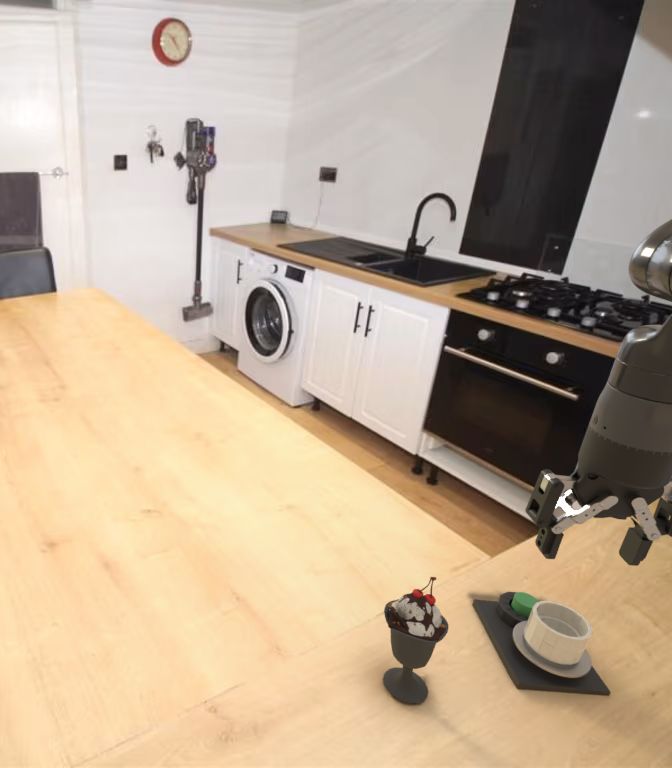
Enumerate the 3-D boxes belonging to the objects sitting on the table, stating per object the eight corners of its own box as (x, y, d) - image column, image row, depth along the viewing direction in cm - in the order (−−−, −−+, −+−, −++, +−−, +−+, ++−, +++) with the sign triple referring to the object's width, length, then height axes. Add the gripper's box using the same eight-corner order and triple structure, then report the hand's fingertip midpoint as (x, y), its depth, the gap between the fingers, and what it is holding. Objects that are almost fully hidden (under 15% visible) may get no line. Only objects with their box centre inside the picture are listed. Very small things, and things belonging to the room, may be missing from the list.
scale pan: (566, 625, 69) (567, 623, 69) (606, 681, 62) (607, 679, 62) (500, 619, 70) (501, 617, 70) (532, 674, 63) (533, 671, 63)
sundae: (438, 675, 66) (457, 574, 61) (432, 720, 60) (452, 612, 55) (380, 654, 69) (394, 556, 64) (370, 694, 63) (384, 591, 58)
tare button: (529, 602, 73) (532, 592, 73) (539, 619, 71) (543, 608, 70) (507, 600, 74) (510, 590, 73) (517, 616, 71) (520, 606, 70)
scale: (545, 611, 75) (552, 595, 74) (607, 700, 63) (615, 682, 62) (470, 604, 76) (475, 588, 75) (516, 690, 64) (523, 673, 63)
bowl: (562, 629, 68) (573, 602, 66) (591, 670, 63) (603, 642, 61) (514, 625, 69) (523, 598, 67) (537, 664, 64) (549, 636, 62)
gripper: (582, 445, 52) (535, 576, 58) (748, 453, 50) (681, 587, 56) (541, 410, 58) (503, 531, 65) (686, 417, 57) (633, 540, 63)
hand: (586, 557), depth 61 cm, fingers open, 8 cm apart
